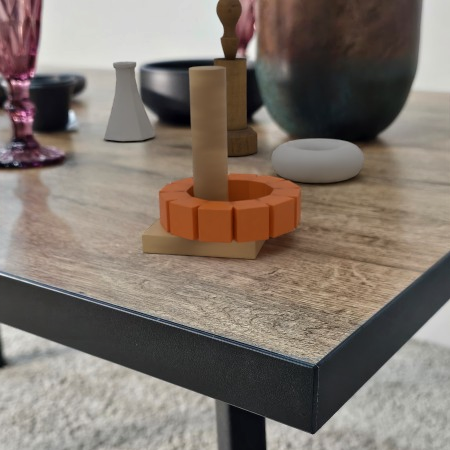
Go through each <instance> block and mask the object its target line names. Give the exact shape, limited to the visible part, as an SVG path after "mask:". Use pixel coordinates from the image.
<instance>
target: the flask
mask: <svg viewBox="0 0 450 450" xmlns="http://www.w3.org/2000/svg"><path fill="white" fill-rule="evenodd" d="M112 66H113V69H114V70H115V89H114V96H113V101H112V105H111V109H110V114H109V118H108V122H107V125H106V130H105V134H104V137H103V140H108V141H109V140H110V141H116V142H117V141H118V142H133V141H144V140H147V139H151V138H154V137H155V131H154V128H153V125H152V122H151V120H150V118H149V116H148V113H147V111H146V108H145V105H144V103H143V100H142V97H141V95H140V92H139V88H138V84H137V80H136V70H135V69H136V67H137V61H116V62H113V63H112Z"/></svg>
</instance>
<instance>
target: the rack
mask: <svg viewBox="0 0 450 450" xmlns="http://www.w3.org/2000/svg"><path fill="white" fill-rule="evenodd" d="M188 79H189V82H188V83H189V84H188V85H189V107H190V108H189V109H190V132H191V136H190V137H191V161H192V162H191V163H192V177H193V192H194V197H195V198H199V199H203V200H208V201H225V202H228V175H229V164H228V163H229V162H228V157H229V156H228V153H227V98H226V67H222V66H214V65H201V66H192V67H188ZM266 241H267V240H258V241H250V242H242V243H237V242H236V241H235V240H234V239H233V241H232V242H231V243H221V242H202V241H199V239H196V240H189V239H186V238H182V237H179V236H175V235H172V234H171V232H167V231H166V230H165V229H164V227H163V226H162V225H161V224H160V217H159V218H158V219H157V220H155V222H154V223H152V225H151V226H150V227H148V228H147V229H146V230H145V231H144V232H143V233H142V234H141V242H142V245H141V246H142V253H144V254H145V253H146V254H148V253H149V254H163V255H178V256H180V255H181V256H194V257H210V258H212V257H213V258H228V259H244V260H246V259H247V260H256V259H257V257H258V255H259V253H260V251H261V250H262V248H263V246H264V244H265V243H266Z"/></svg>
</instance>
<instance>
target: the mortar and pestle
mask: <svg viewBox="0 0 450 450" xmlns="http://www.w3.org/2000/svg"><path fill="white" fill-rule="evenodd" d="M215 11H216V13H215V14H216V15H217V18H218V20H219V22H220V23H221V25H222V27H223V28H222V29H223V33H222V36H221V37H220V39H219V41H220V45H221V49H222V53H223V56H224V57H215V58H213V66H222V67H226V98H227V153H228V157H241V156H249V155H253V154H255V153H257V152H258V151H259V150H258V148H259V147H258V132H257V131H255V130H254V129H253V127H251V126H250V125H248V118H247V117H248V116H247V114H248V113H247V111H248V110H247V109H248V108H247V68H248V67H247V63H248V60H247V58H246V57H237V53H238V49H239V46H240V36H238V35H237V32H236V31H237V30H236V29H237V25H238V23H239V20H240V19H241V16H242V13H243V7H242V2H241V1H240V0H218V1H217V4H216V7H215Z"/></svg>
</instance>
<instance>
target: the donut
mask: <svg viewBox="0 0 450 450" xmlns="http://www.w3.org/2000/svg"><path fill="white" fill-rule="evenodd" d="M270 161H271V167H272V169H273V171H274V172H275V173H276V174H277V175H278V176H280V178H283V179H285V180H289V181H291V182H298V183H305V184H307V183H308V184H329V183H338V182H343V181H347V180H349V179H352V178H353V177H356V176H357V175H358V174H359V173H360V172H361V170H362V168H363V167H364V164H365V156H364V153H363V151H362V150H361V148H359V146H358V145H357V144H354V143H352V142H350V141H346V140H341V139H335V138H301V139H294V140H289V141H286V142H282V143H281V144H280V145H278V146H277V147H276V148H275V149H274V150H273V152H272V154H271V157H270Z"/></svg>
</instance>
